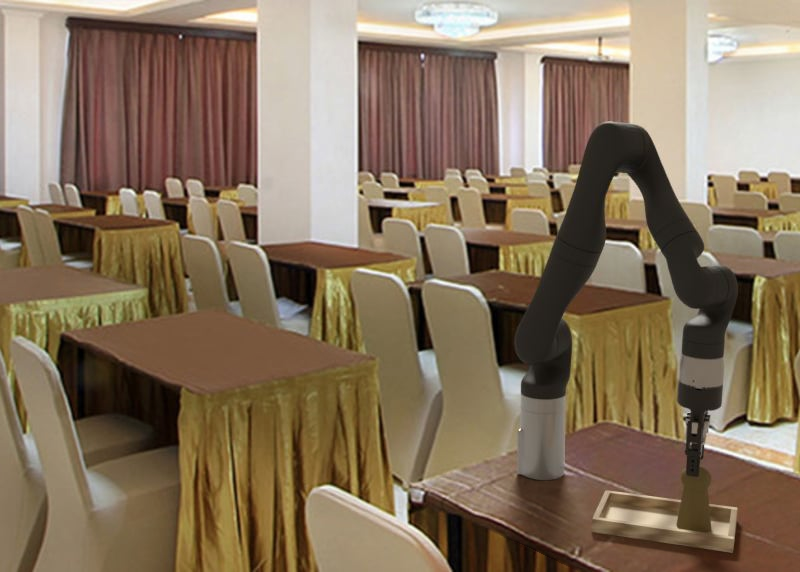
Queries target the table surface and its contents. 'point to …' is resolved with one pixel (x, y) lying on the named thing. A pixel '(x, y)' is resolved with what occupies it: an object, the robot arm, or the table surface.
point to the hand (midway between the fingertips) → (694, 467)
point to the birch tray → (661, 521)
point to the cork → (695, 502)
